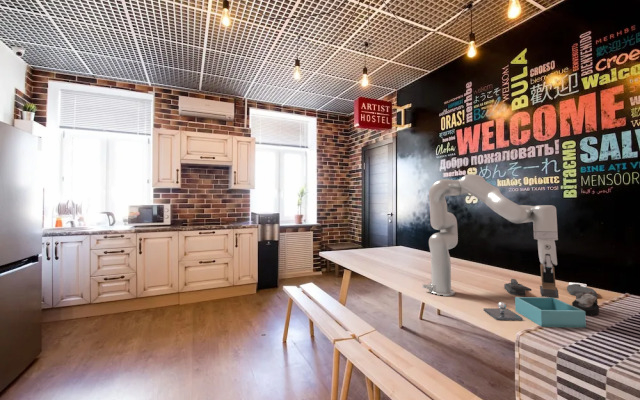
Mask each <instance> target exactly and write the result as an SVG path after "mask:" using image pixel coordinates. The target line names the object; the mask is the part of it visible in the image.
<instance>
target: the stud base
mask: <svg viewBox="0 0 640 400" xmlns="http://www.w3.org/2000/svg"><path fill="white" fill-rule="evenodd" d="M497 307H498V308H489V307H488V308H487V307H486V308H485V307H484V308H483V311H484V312H485V313H486V314H487V315H489V316H490V317H492V318H493V319H494V320H495V321H523V320H524V319H523V317H522V316H520V315H519V314H518V313H515V312H513V311H512V310H511V309H509V308H507V304H506V303H505V302H504V301H499V302H498V303H497Z"/></svg>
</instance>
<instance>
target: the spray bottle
mask: <svg viewBox="0 0 640 400" xmlns="http://www.w3.org/2000/svg"><path fill="white" fill-rule="evenodd" d="M566 289H567V290H566V291H567V293H568V294H569V295H570V296H574V297H576V295H575V294H578V293H584V292H590V291H592V295H593V296H595V297H596V298H597V299H598V294H597V292H596V290H594V289H593V288H591V287H587V284H586V283H580V282H568V285H567V287H566Z"/></svg>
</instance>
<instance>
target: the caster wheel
mask: <svg viewBox="0 0 640 400" xmlns="http://www.w3.org/2000/svg"><path fill="white" fill-rule="evenodd" d="M575 295H576V296H575V299H574V300H573V301H572V303H571V305H572V306H574V307H576V308H579V309H581V310H583V311H585V315H586V316H596V315H598V314H600V306H599V303H598V302H599V301H598V297H597V298H596V297H595V296H593V295H592V291H590V292H584V293H578V294H575Z"/></svg>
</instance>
